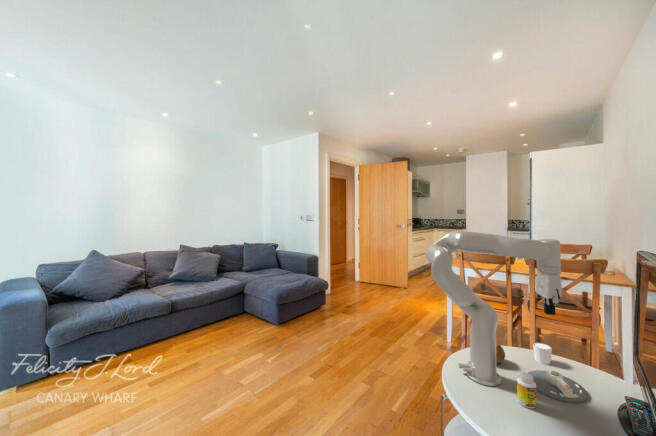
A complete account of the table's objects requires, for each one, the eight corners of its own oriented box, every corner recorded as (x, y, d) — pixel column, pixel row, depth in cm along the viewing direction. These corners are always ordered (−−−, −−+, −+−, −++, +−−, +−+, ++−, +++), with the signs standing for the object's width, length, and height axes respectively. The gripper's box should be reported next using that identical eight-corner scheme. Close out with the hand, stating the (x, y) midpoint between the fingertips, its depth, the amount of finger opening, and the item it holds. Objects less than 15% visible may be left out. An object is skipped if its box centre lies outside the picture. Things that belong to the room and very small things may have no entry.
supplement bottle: (528, 410, 91) (527, 381, 91) (513, 400, 97) (512, 372, 97) (540, 407, 92) (540, 378, 92) (525, 397, 98) (525, 370, 98)
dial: (540, 398, 97) (540, 394, 97) (518, 370, 114) (518, 367, 114) (600, 406, 92) (600, 402, 92) (568, 376, 110) (567, 372, 110)
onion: (502, 371, 119) (512, 356, 115) (480, 364, 121) (489, 349, 117) (496, 354, 127) (505, 339, 123) (475, 347, 129) (484, 333, 125)
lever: (544, 378, 106) (544, 368, 106) (558, 380, 105) (558, 369, 105) (561, 397, 95) (561, 386, 95) (577, 399, 94) (577, 387, 94)
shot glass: (556, 365, 117) (555, 350, 117) (538, 364, 119) (538, 349, 119) (546, 357, 124) (546, 343, 124) (530, 356, 125) (529, 342, 125)
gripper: (529, 265, 116) (530, 307, 116) (548, 273, 101) (549, 320, 101) (549, 266, 114) (550, 308, 114) (571, 273, 99) (572, 321, 100)
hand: (549, 313), depth 108 cm, fingers closed
